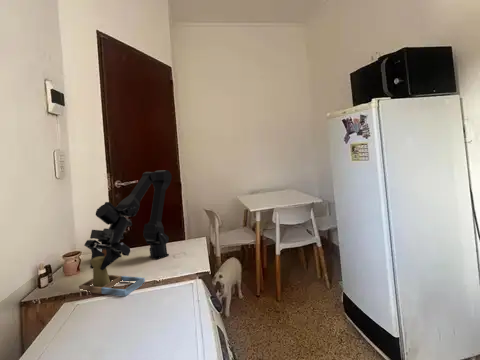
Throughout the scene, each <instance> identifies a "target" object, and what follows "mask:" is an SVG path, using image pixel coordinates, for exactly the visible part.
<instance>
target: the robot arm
mask: <svg viewBox="0 0 480 360" xmlns="http://www.w3.org/2000/svg"><path fill="white" fill-rule="evenodd" d="M171 183H172V173H171V172H170V170H168V169H166V170H164V169H163V170H155V171H145V172H143V173H142V175H141V178H140V179H139V181H138V182H137V184H136V185H135V187H134V188H133V189H132V190H131V192H130V194H129V195H127V196H126V197H125V198H123V199H121V201H119V203H118V204H117V206H114V205H113V204H112V202H110V201H105V202H104V204H102V205H100V206H99V207H98V208H97V209H96V212H95V216H96V217H97V218H98V219H99V220H101V221H102V222H104V223H105V224H106V225H107V226H108V225H110V226H109V227H108V228H103V230H100V229H91V232H90V237H89V239H87V240H86V241H85V243H84V246H85V247H86V248H88V249H89V250H90V251H91V259H90V261H91V260H92V259H93V258H94V257H98V256H104V255H105V254H104V253H102V251H103V249H105V250H106V256H105V258H104V261H103V263H102V265H101V268H100V269H101V270H104V269H105V268H106V269H107V267H108V266H110V265H111V264H112V263H114V262H116V261H117V259H119V258H122V256H126V257H129V256H130V253H131V248H130V246H128V245H127V244H125V243H124V242H122V241H121V240H123V239H124V238H125V237H124V234H125V231H126V229H127V227H133V223H132V219H130V218H127V217H132V218H133V217H135V216H136V215H137V214H138V212H139V209H140V206H141V205H140V204H141V201H142V199H143V197H144V196H145V194H146V193H147V192H148V190H149V188H150V187H151V186H153V189H154V190H153V196H152V197H153V198H152V202H151V203H152V205H151V211H150V218H149V221H148V222H147V223H144V225H143V231H142V234H143V238H144V240H145V242H146V244H147V245H149V258H150V259H151V258H152V259H154V260H160V259H163V258H165V257H169V256H170V253H168V250H167V244H168V243H169V239H170V237H169V235H167V234H166V233H165V227H164V224H163V222H162V219H163V212H164V205H165V198H166V191H167V190H168V189H169V186H170V185H171ZM89 268H90V269H93V267H92V265H91V263H90V265H89Z"/></svg>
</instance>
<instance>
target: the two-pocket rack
mask: <svg viewBox="0 0 480 360" xmlns="http://www.w3.org/2000/svg"><path fill="white" fill-rule="evenodd" d="M108 276H109V279H110V280H113V281H110V283H108V284H106V285H105V286H103V287H96V286H93V285H92V284H93V278H91V279H90V280H88V281H86V282H84V283H82V284H80V285H78V288H79V289H78V290H80V289H83V290H87V291H90V292H89V293H91V292H92V293H93V294H99V295H100V294H102V295H108V296H110V295H111V296H120V297H127V296H128V295H130V294H131V293H133V292H134V291H135V290H137V289H138V288H140V287H141V286H143V285H144V284H145V283H146V279H145V277H140V276H139V277H138V276H127V275H117V274H115V275H114V274H108ZM122 280H123V281H136V282H135V283H131V285H129V286H127V287H126V288H124V289H123V288H115V287H113V288H111V287H112V286H114V285H115V284H116V283H118V282H120V281H122ZM144 282H145V283H144ZM143 283H144V284H143ZM142 284H143V285H142ZM90 285H92V286H90Z"/></svg>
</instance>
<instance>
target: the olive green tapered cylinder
mask: <svg viewBox="0 0 480 360" xmlns="http://www.w3.org/2000/svg"><path fill="white" fill-rule="evenodd" d="M104 258H105V257H104V256H98V257H94V258H93V259H92V260H91V259H90V264H91V265H92V267H93V271H92V272H93V273H92V276H93V277H92V279H93V285H92V286H96V287H103V286H105V285H106V284H108V283H110V282H111V281H110V279H109V276H108V275H109V272H108V270H107V267H106V268H105V269H104V270H101V269H100V268H101V265H102V263H103V261H104Z"/></svg>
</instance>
